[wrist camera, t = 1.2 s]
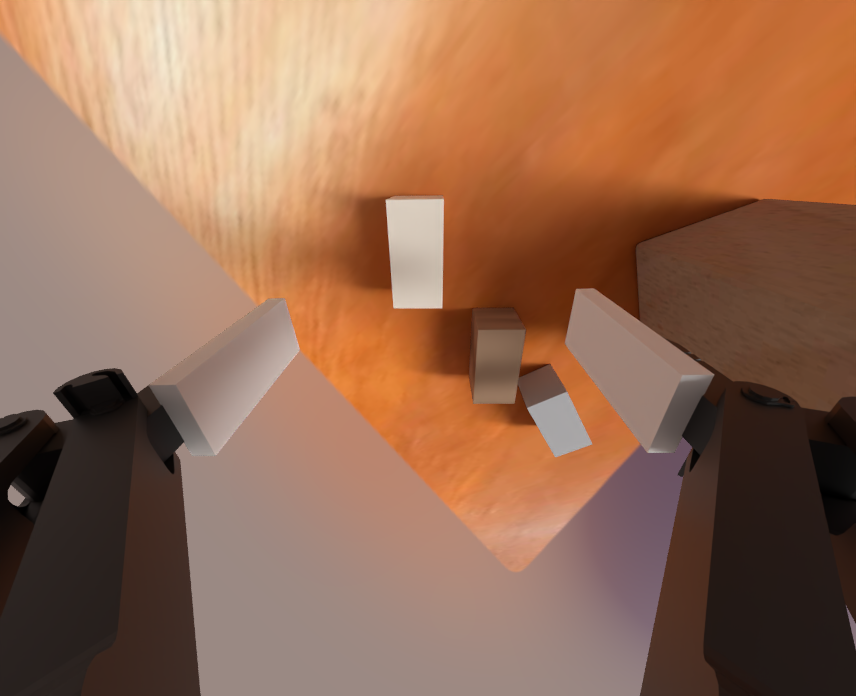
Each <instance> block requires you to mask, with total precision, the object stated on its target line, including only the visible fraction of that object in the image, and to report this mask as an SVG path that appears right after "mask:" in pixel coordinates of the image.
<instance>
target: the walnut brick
mask: <svg viewBox="0 0 856 696" xmlns="http://www.w3.org/2000/svg"><path fill="white" fill-rule="evenodd" d="M525 334H526V329H525V327H524V325H523V323H522V322H521V320H520V318H519V316H518V315H517V313H516V311H515V309H514V308H473V309H472V327H471V345H470V363H469V379H470V386H471V392H472V399H473V404H515V398H516V392H517V385H518V379H519V372H520V366H521V359H522V353H523V346H524V340H525Z"/></svg>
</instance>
